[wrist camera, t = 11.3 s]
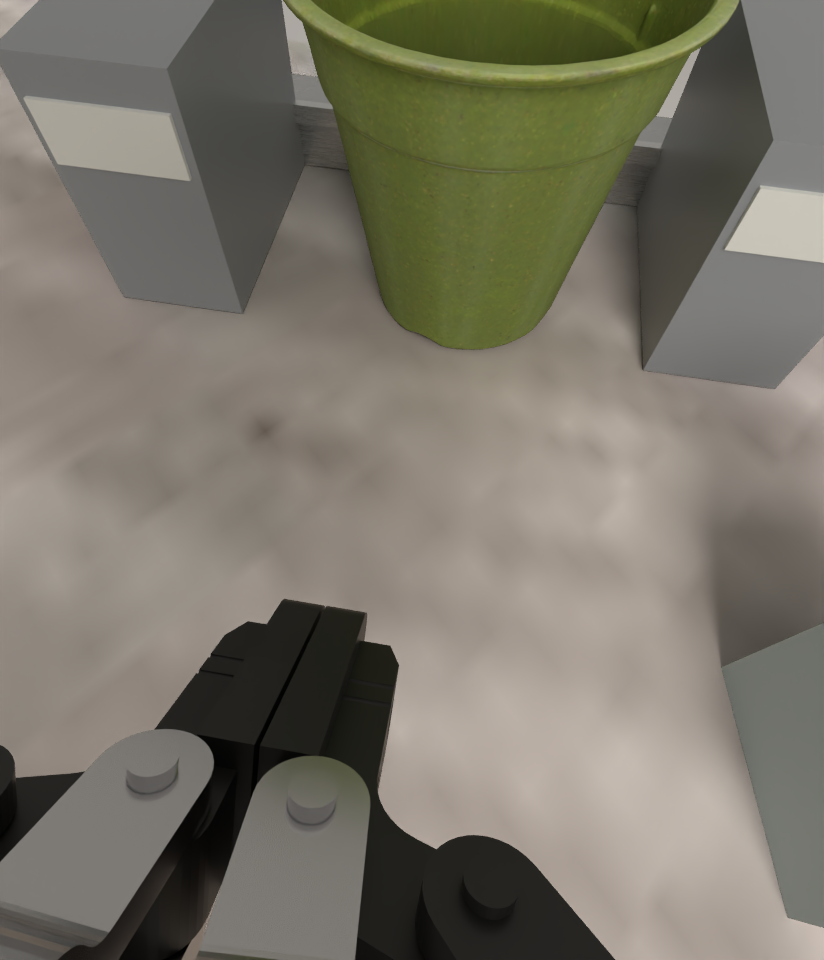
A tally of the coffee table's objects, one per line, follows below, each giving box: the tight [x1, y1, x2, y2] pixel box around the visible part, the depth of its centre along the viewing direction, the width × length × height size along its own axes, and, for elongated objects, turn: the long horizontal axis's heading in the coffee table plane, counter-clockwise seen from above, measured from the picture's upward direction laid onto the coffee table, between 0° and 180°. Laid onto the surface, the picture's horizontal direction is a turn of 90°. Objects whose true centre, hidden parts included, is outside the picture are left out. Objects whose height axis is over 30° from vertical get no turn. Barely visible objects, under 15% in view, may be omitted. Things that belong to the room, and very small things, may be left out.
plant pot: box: [283, 0, 739, 349], centre depth 20 cm, size 12×12×11 cm
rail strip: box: [292, 74, 672, 206], centre depth 27 cm, size 26×2×3 cm, turn 81°
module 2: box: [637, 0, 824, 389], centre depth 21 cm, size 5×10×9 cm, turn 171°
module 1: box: [0, 0, 305, 314], centre depth 22 cm, size 5×10×9 cm, turn 171°
